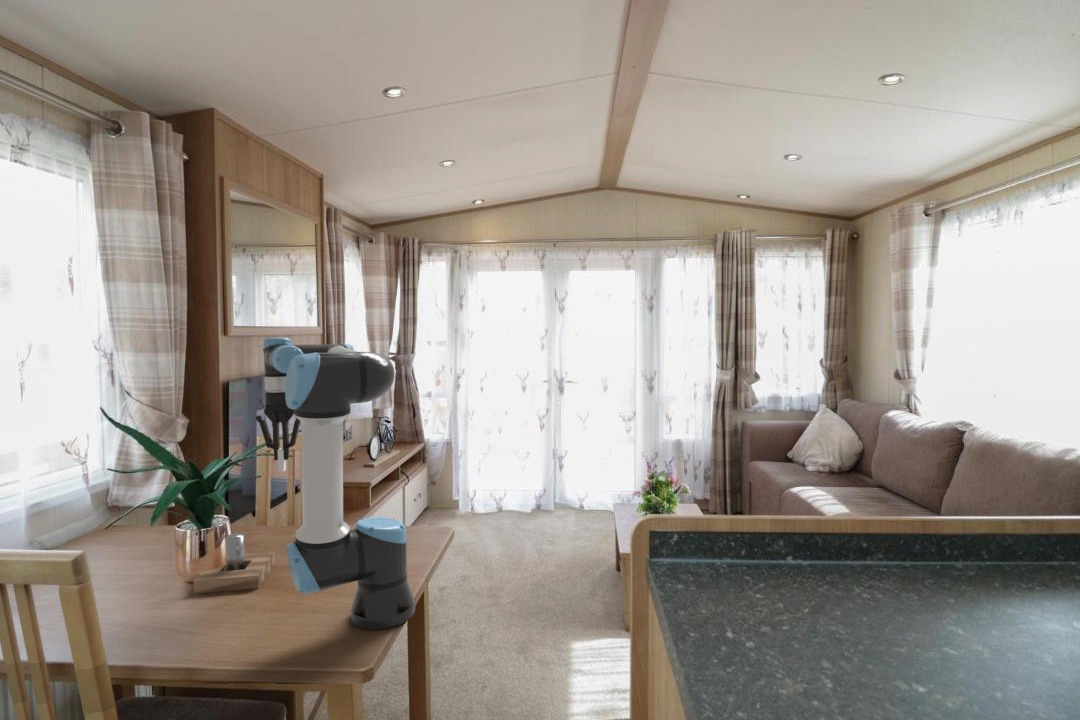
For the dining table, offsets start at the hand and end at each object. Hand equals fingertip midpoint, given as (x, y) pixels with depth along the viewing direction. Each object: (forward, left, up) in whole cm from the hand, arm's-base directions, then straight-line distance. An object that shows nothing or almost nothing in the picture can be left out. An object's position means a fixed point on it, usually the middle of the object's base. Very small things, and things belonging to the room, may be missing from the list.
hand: (282, 470), depth 165 cm
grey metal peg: (-6, +11, -28) cm, 31 cm away
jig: (-6, +11, -28) cm, 31 cm away
